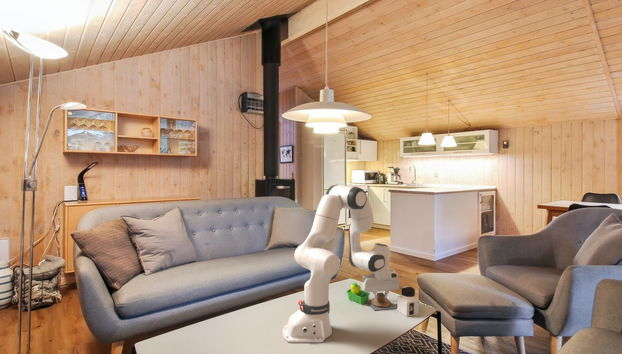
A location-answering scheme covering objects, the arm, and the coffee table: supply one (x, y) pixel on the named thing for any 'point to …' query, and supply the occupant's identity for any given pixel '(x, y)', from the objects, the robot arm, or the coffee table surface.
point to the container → (408, 302)
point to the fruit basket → (357, 294)
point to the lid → (380, 301)
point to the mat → (381, 307)
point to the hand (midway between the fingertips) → (380, 298)
